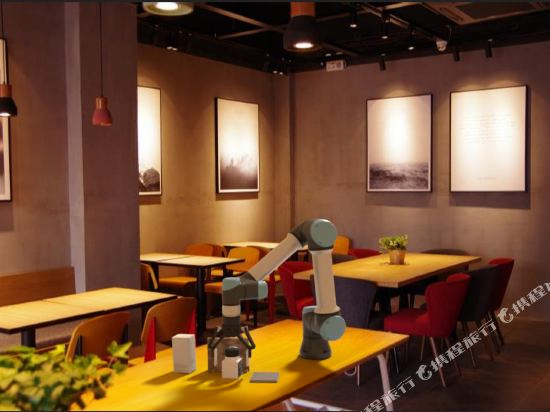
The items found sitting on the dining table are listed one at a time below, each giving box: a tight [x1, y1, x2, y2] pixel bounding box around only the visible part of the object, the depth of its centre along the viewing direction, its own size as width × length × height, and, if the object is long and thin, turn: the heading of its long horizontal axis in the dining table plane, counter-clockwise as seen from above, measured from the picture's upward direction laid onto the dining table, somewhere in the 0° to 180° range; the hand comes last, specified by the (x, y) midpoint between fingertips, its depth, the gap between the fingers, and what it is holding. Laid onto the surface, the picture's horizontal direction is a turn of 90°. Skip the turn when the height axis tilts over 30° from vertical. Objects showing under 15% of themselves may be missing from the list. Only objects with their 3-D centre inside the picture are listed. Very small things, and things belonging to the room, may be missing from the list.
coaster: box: [249, 371, 280, 383], centre depth 247 cm, size 11×11×1 cm
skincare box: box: [171, 333, 197, 374], centre depth 258 cm, size 8×7×16 cm
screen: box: [206, 337, 250, 373], centre depth 258 cm, size 18×6×14 cm, turn 85°
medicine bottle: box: [221, 347, 243, 380], centre depth 250 cm, size 7×7×12 cm
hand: (231, 365), depth 250 cm, fingers open, 13 cm apart
